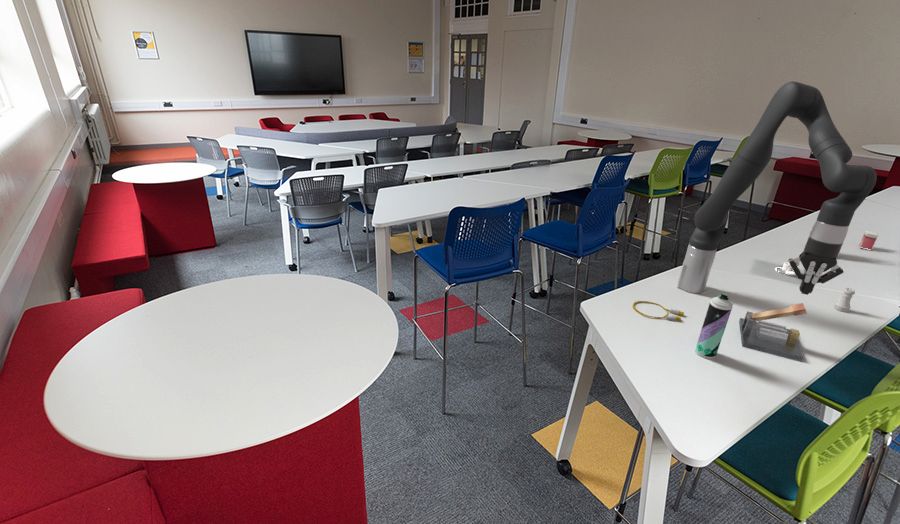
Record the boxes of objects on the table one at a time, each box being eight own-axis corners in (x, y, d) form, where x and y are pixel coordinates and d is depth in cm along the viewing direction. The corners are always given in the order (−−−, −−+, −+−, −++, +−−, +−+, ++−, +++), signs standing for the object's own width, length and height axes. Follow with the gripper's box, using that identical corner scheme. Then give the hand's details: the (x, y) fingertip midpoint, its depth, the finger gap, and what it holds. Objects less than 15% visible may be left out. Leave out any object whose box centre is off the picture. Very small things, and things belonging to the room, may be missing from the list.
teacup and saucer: (796, 279, 180) (800, 270, 179) (773, 273, 185) (776, 264, 183) (797, 271, 187) (800, 263, 185) (774, 266, 191) (778, 257, 189)
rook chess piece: (845, 307, 159) (855, 287, 156) (851, 313, 155) (861, 293, 152) (831, 305, 160) (839, 285, 157) (836, 311, 156) (845, 291, 153)
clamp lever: (748, 324, 138) (746, 318, 137) (747, 318, 141) (745, 313, 141) (807, 314, 129) (805, 309, 129) (804, 308, 132) (803, 303, 132)
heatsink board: (742, 346, 135) (748, 327, 132) (738, 321, 148) (745, 304, 145) (801, 361, 129) (810, 342, 126) (793, 334, 142) (800, 316, 139)
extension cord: (668, 329, 143) (670, 324, 142) (625, 309, 154) (626, 304, 154) (687, 318, 150) (689, 313, 149) (644, 299, 161) (646, 294, 160)
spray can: (691, 348, 133) (709, 289, 125) (708, 347, 134) (727, 289, 125) (701, 359, 128) (721, 299, 120) (719, 358, 129) (740, 298, 120)
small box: (858, 245, 216) (865, 230, 213) (870, 247, 214) (877, 232, 210) (859, 248, 212) (866, 233, 209) (871, 250, 210) (878, 235, 207)
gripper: (799, 237, 122) (779, 293, 129) (860, 246, 117) (835, 304, 124) (795, 229, 128) (775, 283, 135) (852, 238, 123) (829, 293, 130)
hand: (804, 293), depth 129 cm, fingers closed
